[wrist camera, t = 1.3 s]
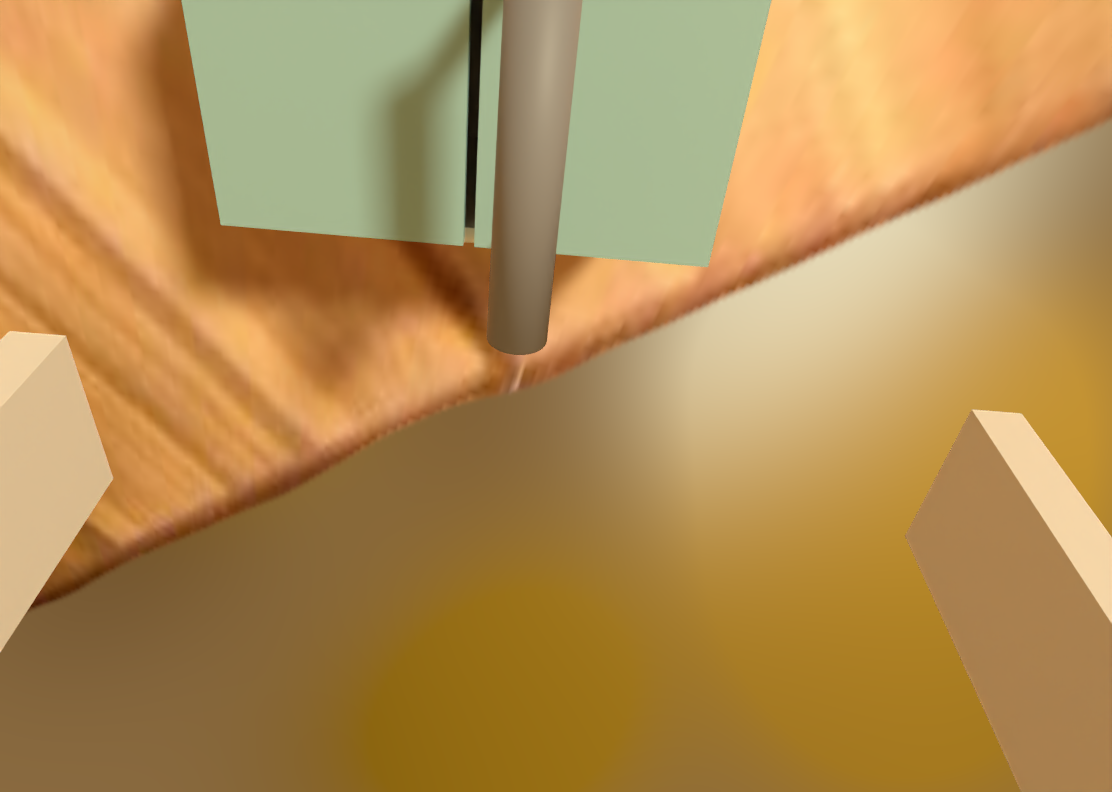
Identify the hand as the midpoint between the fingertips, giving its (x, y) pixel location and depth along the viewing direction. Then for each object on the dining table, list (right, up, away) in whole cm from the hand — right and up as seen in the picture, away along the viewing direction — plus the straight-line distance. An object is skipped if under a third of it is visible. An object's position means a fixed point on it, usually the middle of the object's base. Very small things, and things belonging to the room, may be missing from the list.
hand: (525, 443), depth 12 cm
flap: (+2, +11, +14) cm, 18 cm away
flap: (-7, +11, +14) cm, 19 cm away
